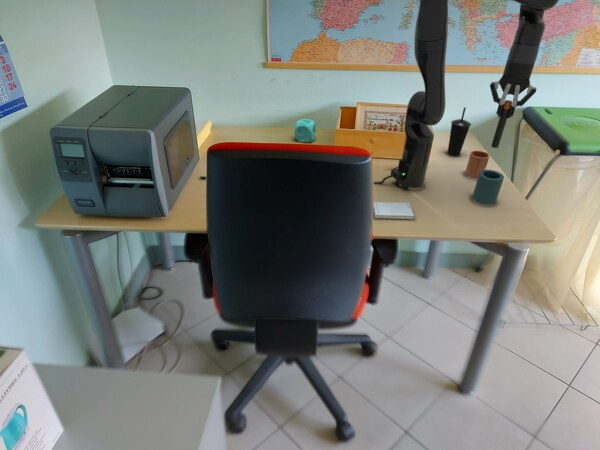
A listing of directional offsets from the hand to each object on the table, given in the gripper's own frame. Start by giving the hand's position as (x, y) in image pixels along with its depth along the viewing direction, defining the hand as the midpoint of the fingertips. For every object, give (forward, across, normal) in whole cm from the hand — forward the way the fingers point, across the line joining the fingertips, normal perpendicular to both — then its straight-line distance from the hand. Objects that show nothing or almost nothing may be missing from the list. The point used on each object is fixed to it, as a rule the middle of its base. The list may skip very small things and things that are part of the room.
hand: (503, 116), depth 128 cm
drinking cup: (+28, -15, +30) cm, 44 cm away
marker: (+10, 0, 0) cm, 10 cm away
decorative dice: (+28, -77, +13) cm, 83 cm away
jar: (+28, +2, -5) cm, 29 cm away
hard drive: (+28, -24, -28) cm, 46 cm away
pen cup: (+28, -4, +13) cm, 31 cm away
